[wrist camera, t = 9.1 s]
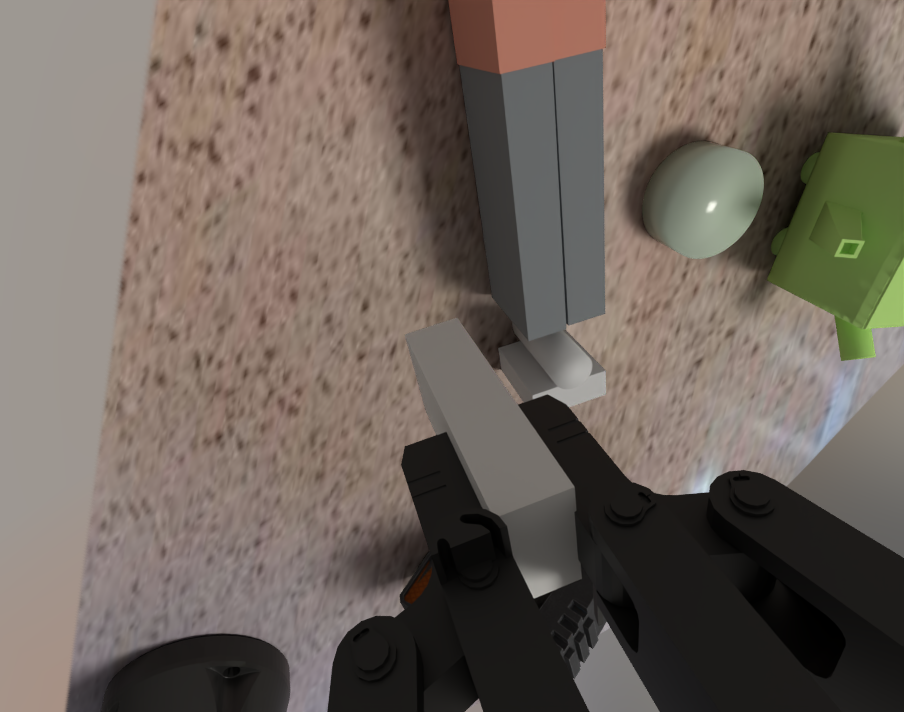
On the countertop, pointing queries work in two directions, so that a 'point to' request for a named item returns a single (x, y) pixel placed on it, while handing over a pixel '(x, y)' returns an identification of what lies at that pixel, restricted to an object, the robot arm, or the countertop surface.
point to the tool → (544, 613)
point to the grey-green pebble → (702, 198)
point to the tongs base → (572, 213)
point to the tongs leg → (515, 153)
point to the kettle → (848, 238)
